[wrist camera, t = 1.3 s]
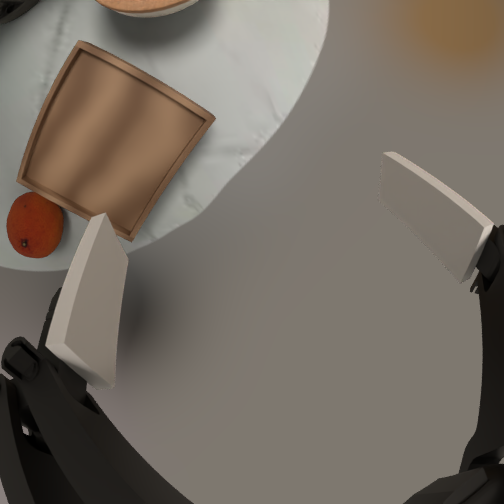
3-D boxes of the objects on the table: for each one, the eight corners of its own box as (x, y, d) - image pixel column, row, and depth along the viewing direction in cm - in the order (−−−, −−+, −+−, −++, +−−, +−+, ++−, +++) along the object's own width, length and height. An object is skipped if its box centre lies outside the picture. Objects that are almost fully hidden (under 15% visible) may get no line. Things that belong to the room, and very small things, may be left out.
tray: (41, 159, 25) (16, 181, 20) (100, 45, 20) (78, 40, 14) (139, 211, 34) (131, 242, 29) (210, 109, 28) (216, 118, 23)
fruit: (74, 191, 30) (52, 222, 23) (66, 243, 34) (49, 280, 27) (23, 175, 26) (-6, 203, 19) (19, 227, 30) (-3, 261, 23)
